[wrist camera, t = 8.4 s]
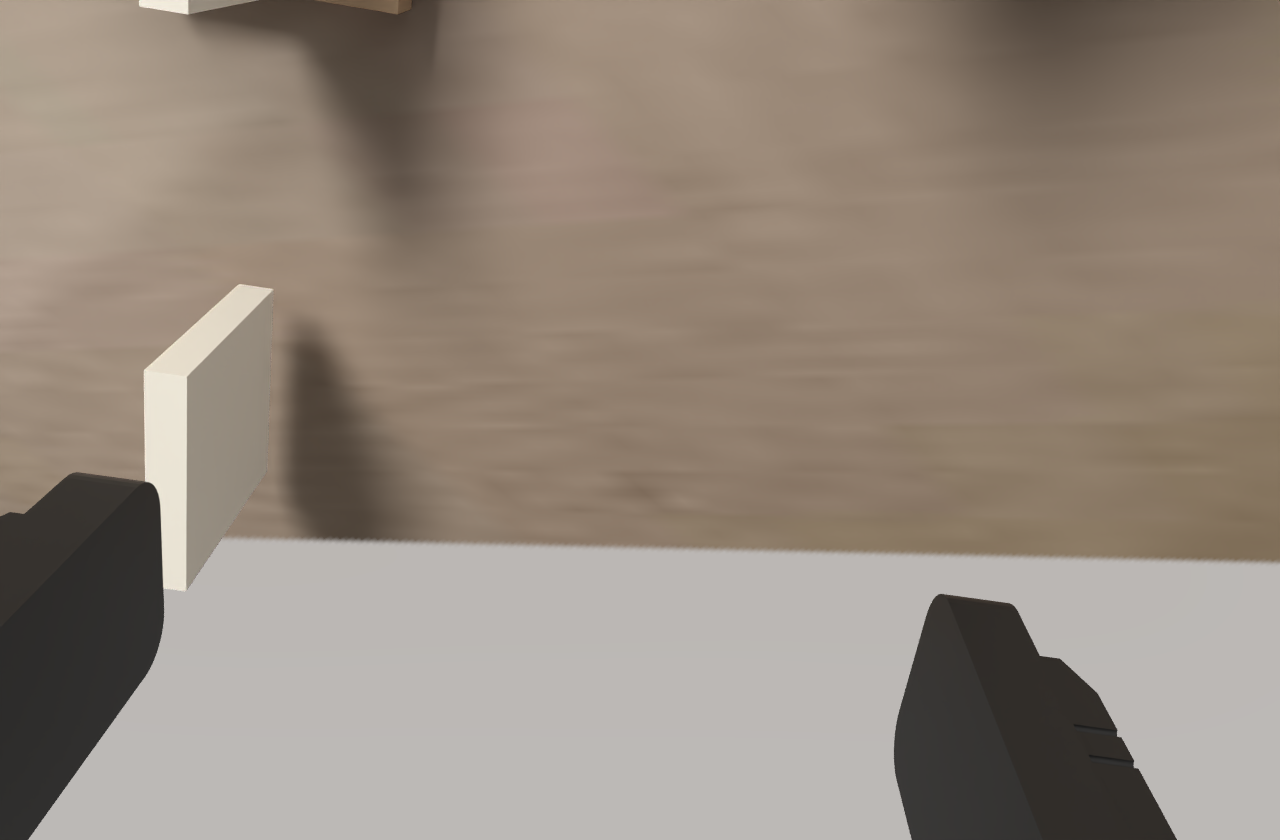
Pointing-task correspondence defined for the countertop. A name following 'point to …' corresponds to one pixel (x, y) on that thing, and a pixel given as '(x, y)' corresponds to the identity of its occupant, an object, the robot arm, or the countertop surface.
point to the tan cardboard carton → (189, 3)
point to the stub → (208, 427)
